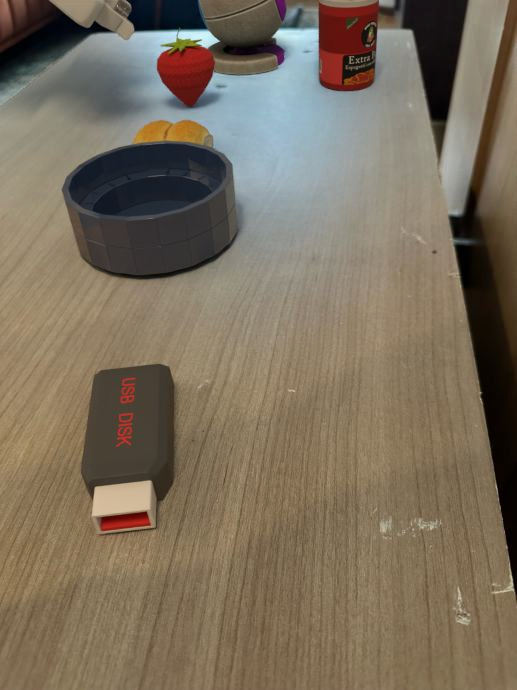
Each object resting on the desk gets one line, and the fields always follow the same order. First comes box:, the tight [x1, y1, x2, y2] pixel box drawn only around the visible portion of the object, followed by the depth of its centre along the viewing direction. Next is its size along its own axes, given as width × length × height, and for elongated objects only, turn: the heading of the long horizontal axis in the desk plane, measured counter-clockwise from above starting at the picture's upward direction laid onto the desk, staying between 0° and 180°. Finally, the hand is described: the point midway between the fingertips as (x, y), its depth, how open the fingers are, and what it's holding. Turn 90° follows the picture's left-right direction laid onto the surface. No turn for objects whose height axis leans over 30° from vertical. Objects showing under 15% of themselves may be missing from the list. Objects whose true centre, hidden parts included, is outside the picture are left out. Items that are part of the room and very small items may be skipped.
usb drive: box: [80, 363, 175, 535], centre depth 40 cm, size 5×12×3 cm, turn 6°
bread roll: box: [132, 119, 214, 149], centre depth 73 cm, size 8×9×4 cm
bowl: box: [61, 141, 239, 276], centre depth 60 cm, size 15×15×6 cm
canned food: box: [317, 0, 380, 92], centre depth 86 cm, size 8×8×11 cm
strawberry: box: [156, 27, 215, 108], centre depth 83 cm, size 6×8×10 cm
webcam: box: [197, 0, 288, 76], centre depth 94 cm, size 13×13×15 cm
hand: (130, 23), depth 79 cm, fingers open, 8 cm apart
